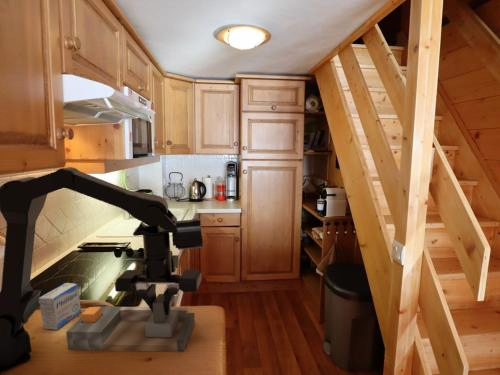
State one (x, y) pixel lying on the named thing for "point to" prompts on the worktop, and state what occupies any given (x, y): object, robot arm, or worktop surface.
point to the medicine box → (60, 306)
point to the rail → (128, 331)
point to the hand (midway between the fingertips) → (161, 313)
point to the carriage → (161, 320)
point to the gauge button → (91, 315)
